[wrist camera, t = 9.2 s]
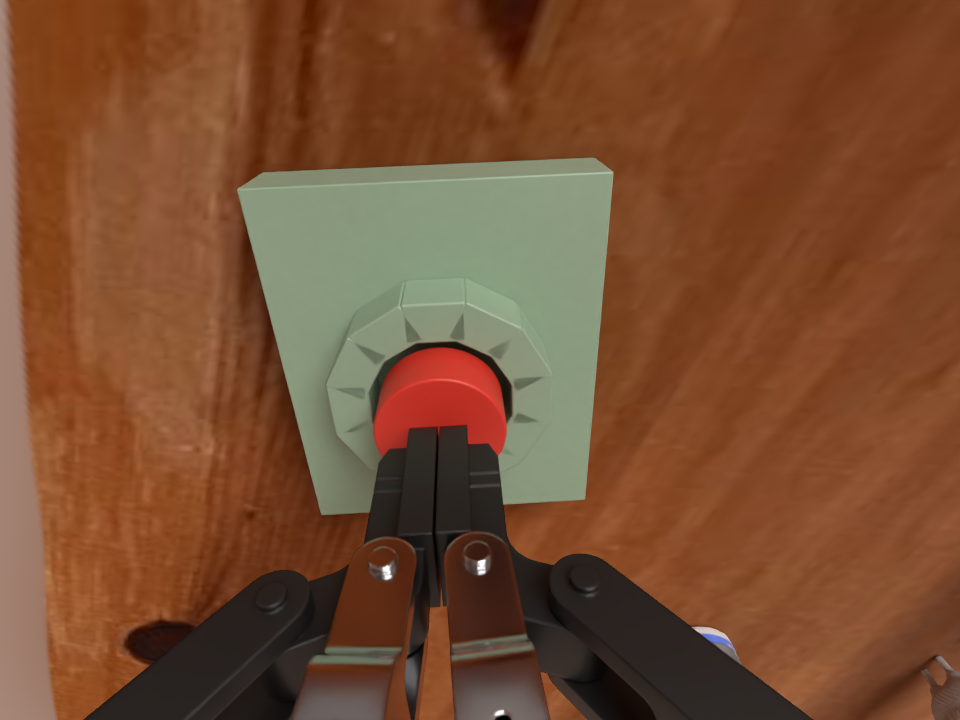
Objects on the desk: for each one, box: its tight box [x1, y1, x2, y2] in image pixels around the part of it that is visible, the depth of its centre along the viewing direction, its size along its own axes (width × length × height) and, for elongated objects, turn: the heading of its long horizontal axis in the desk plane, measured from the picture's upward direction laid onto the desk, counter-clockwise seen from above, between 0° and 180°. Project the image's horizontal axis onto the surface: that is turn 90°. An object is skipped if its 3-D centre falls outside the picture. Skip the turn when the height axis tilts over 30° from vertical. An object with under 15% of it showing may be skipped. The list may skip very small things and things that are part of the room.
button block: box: [237, 158, 614, 515], centre depth 17 cm, size 12×10×4 cm
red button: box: [373, 347, 507, 457], centre depth 15 cm, size 4×4×2 cm
